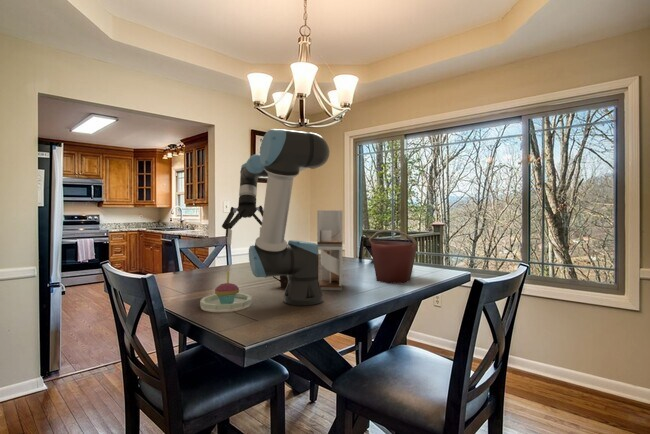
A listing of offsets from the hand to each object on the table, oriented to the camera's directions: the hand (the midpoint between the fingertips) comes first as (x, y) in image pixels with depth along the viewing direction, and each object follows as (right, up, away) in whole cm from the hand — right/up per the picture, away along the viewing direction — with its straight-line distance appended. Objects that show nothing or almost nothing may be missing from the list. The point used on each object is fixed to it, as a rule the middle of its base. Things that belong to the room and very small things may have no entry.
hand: (244, 243), depth 148 cm
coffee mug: (+15, -21, +15) cm, 30 cm away
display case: (+36, -21, +13) cm, 44 cm away
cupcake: (-3, -21, -17) cm, 27 cm away
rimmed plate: (-3, -21, -17) cm, 28 cm away
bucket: (+68, -21, +31) cm, 77 cm away
